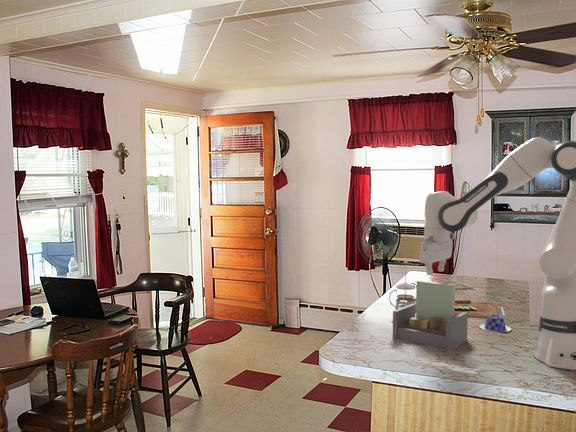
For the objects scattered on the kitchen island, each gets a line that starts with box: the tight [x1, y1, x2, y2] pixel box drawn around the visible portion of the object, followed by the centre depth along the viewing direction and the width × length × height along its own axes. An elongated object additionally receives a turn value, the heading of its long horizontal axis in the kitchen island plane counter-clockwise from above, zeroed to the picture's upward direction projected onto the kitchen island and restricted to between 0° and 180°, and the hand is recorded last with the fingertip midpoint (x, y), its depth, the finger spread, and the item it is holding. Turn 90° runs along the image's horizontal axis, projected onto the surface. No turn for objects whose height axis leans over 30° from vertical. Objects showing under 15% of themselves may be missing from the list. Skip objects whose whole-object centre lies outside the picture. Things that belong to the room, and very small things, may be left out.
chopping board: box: [400, 297, 506, 319], centre depth 252 cm, size 45×27×3 cm, turn 73°
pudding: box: [479, 315, 512, 333], centre depth 219 cm, size 12×12×5 cm
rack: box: [392, 304, 469, 351], centre depth 200 cm, size 22×15×12 cm
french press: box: [388, 260, 416, 310], centre depth 234 cm, size 10×12×25 cm
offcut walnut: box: [430, 317, 448, 332], centre depth 197 cm, size 7×2×8 cm, turn 50°
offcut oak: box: [410, 317, 430, 329], centre depth 202 cm, size 7×2×6 cm, turn 50°
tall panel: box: [415, 279, 456, 320], centre depth 203 cm, size 14×2×20 cm, turn 50°
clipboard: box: [410, 280, 474, 290], centre depth 302 cm, size 19×2×30 cm
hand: (435, 273), depth 202 cm, fingers open, 8 cm apart
